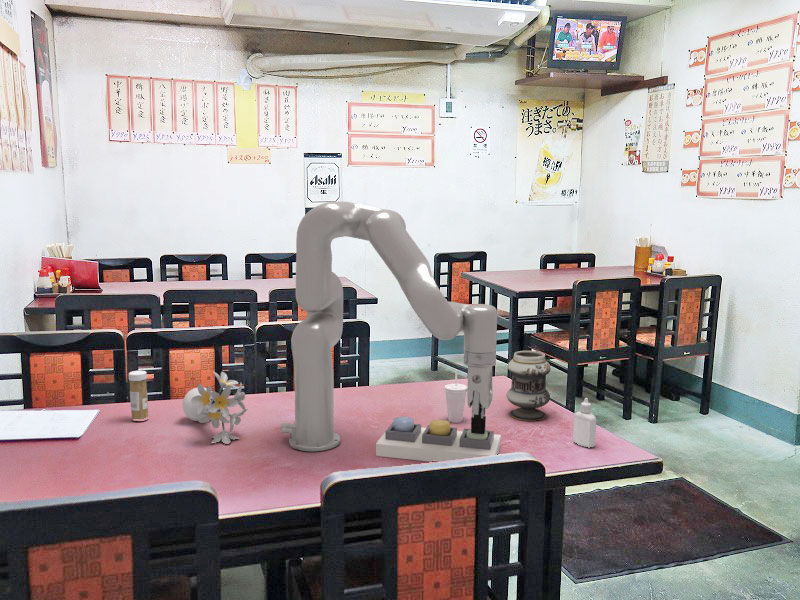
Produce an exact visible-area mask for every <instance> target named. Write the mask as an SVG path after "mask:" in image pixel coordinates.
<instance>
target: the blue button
mask: <svg viewBox="0 0 800 600" xmlns="http://www.w3.org/2000/svg"><path fill="white" fill-rule="evenodd" d="M392 423H393V430H394V431H399V432H412V431H413V430H414V424H415V420H414V418H413V417H410V416H397V417H394V418H393V421H392Z"/></svg>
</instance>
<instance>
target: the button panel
mask: <svg viewBox="0 0 800 600" xmlns="http://www.w3.org/2000/svg"><path fill="white" fill-rule="evenodd" d="M470 429H471V428H463V430H458V427H453V426H450V435H448V436H440V435H431V434H430V433H429V430H430V424H428V425H427V426H426V427H422V424H420V423H414V430H413V431H412V432H399V431H394V430H393V422H391V424H390V425H389V426H388V427H387V429H386V430H385V431H384V433H383V434H382V435H381V436H380V438H379V439H378V440H377V441H376V443H375V456H376V457H384V458H393V459H403V460H409V461H410V460H413V461H420V462H430V463H433V462H432V461H433V460H435V461H446V460H455V459H464V458H473V457H481V456H489V455H496V454H498V455H499V454H500V453H499V452H500V449H501V438H502V436H501V434H495V431H493V430H486V429H485V431H487V432H488V440H480V439H470V438H466V435H467V431H468V430H470Z"/></svg>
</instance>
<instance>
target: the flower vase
mask: <svg viewBox="0 0 800 600" xmlns="http://www.w3.org/2000/svg"><path fill="white" fill-rule="evenodd" d="M212 373H213V374H214V376H215V377H216V379H217V381H218V383H219V386H220V388H219V390H218V392H217V391H213V390H212V387H211V386H210V385H209V386H207V387H204V385H203V384H202V383H198V384H197V387H194V388H192V389H190V390H189V391H188V392H186V393H185V394H186V395H184V397H183V400H182V409H183V413H184V415H185V416H186V417H187V418H188V419H189V420H191V421H194V422H196V421H199V423H200V424H205V423H209V422H210V424H211V426H212V427H213V429H218V428H219V427H220V422H221V425H222V426H221V427H222V431H221V432H219V433H218V434H216V435H214V436H212V437H213V438H214V439H211V441H210V442H218V443H219V442H221V443H222V442H223V443H229V442H231V440H234V441H235V439H238V438H239V437H237V436H235V435H232V434H231V433H232V432H233V430H234V426H238V425H239V424H240V423H241V420H242V419H241V416H243V415H244V414H245V413H246V412H247V411H248V408H246V406H245V404H244V402H243V401H244V400H245V398H246V393H245V392H244V391H242V387H243V386H242V382H240V384H239V382H238V380H234V379H229V380H228V378H229V377H228V375H227V373H226V372H224V371H221V372H220V375H219V374H218V373H217V372H215V370H214V371H212ZM238 384H239V386H236V385H238ZM223 388H224V389H223ZM231 388H232V389H237V391H236V392H235V395H234V396H233V397H232V398H229V397H230V395H231V392H232V391H231ZM238 405H239V407H240V408H241V409H242V410H241V411H238V412H235V413H232V414H231V413H230V412H229V408H232V407H236V406H238ZM228 407H229V408H228ZM228 418H229V419H228ZM225 424H229V425H230V426H229V432H228V431H225V430H226V429H225ZM223 443H222V444H223Z"/></svg>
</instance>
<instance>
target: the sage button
mask: <svg viewBox="0 0 800 600" xmlns="http://www.w3.org/2000/svg"><path fill="white" fill-rule="evenodd" d="M469 429H470V430H468V431H467V435H466V438H470V439H480V440H488V432H487V431H488V430H486V431H485V433H484V434H475V433H471V428H469Z"/></svg>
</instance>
